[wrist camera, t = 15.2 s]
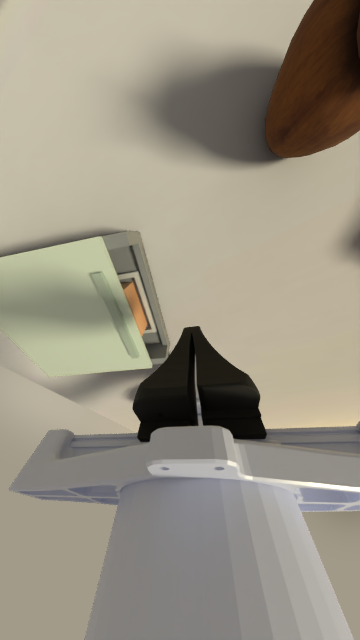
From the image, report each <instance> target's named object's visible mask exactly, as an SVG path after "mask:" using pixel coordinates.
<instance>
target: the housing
mask: <svg viewBox="0 0 360 640" xmlns="http://www.w3.org/2000/svg"><path fill="white" fill-rule="evenodd" d="M102 238H103V241H104V243H105V246H106V248H107V251H108V253H109V256H110V258H111V261H112V263H113V266H114V268H115V271H116V273H117V276H118V279H119V281H120V284H121V286H122V289H123V291H124V294H125V296H126V299H127V301H128V304H129V306H130V309H131V311H132V314H133V316H134V319H135V322H136V324H137V327H138V329H139V332H140V334H141V337H142V339H143V342H144V344H145V347H146V349H147V352H148V354H149V357H150V359H151V362H152V364H163V363H164V362H165V360H166V359H167V358H168V354H169V347H170V342H169V338H168V335H167V331H166V327H165V324H164V320H163V316H162V313H161V309H160V305H159V302H158V298H157V294H156V291H155V287H154V283H153V280H152V276H151V272H150V269H149V265H148V261H147V258H146V254H145V250H144V247H143V243H142V239H141V236H140V232H133V231H125V232H120V233H115V234H111V235H106V236H102Z"/></svg>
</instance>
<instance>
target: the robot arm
mask: <svg viewBox="0 0 360 640" xmlns="http://www.w3.org/2000/svg"><path fill="white" fill-rule="evenodd" d="M259 402H260V394H259V391H258V389H257V387H256V386H255V384H254V382H253V381H252V379H251V378H250V377H249V375H247V374H246V373H244V372H242V371H241V370H239V369H238V368H236V367H235V366H233V365H232V364H231V363H229V362H228V361H227V360H226V359H224V358H223V357H222V356H221V355H220V354H219V353H218V352H217V351H216V350H215V349H214V348H213V347H212V346H211V344H210V343H209V342H208V341H207V339H206V338H205V336H204V335H203V333H202V331H201V329H200V327H199V326H195V327H187V328H184V330H183V333H182V335H181V337H180V339H179V341H178V343H177V345H176V346H175V348H174V350H173V351H172V353H171V354H170V355H169V357H168V358H167V359H166V360H165V362H164V363H163V364H162V365H161V366H160V367H159V368H158V369H157V370H156V371H155V372H154V373H153V374H152V375H150V376H149V377H148V378H147V379H145V380H144V381H143V382H142V383H141V384H140V386H139V388H138V391H137V393H136V396H135V400H134V403H133V411H134V412H135V414H136V415H137V417H138V419H139V420H140V422H141V423H140V427H139V431H138V433H130V434H98V435H74V433H72V432H71V431H69V430H64V429H60V430H49V431H48V432H47V434H46V435H45V437H44V438H43V440H42V441H41V443H40V444H39V446H38V447H37V448H36V450H35V451H34V453H33V454H32V456H31V457H30V458H29V460H28V461H27V463H26V464H25V466H24V467H23V469H22V470H21V472H20V473H19V474H18V476H17V477H16V479H15V480H14V482H13V483H12V484H11V486H10V487H9V490H10V491H13V492H17V493H20V494H23V495H27V496H30V497H34V498H38V499H41V500H58V501H74V502H87V503H98V504H99V503H100V504H110V505H118V507H117V511H116V515H115V519H114V523H113V527H112V531H111V535H110V539H109V543H108V547H107V551H106V555H105V559H104V563H103V567H102V571H101V575H100V579H99V583H98V587H97V591H96V595H95V599H94V603H93V607H92V611H91V615H90V619H89V623H88V627H87V631H86V635H85V639H84V640H354V639H353V636H352V634H351V632H350V629H349V627H348V624H347V622H346V619H345V617H344V615H343V612H342V610H341V607H340V605H339V602H338V600H337V598H336V595H335V593H334V590H333V588H332V586H331V583H330V581H329V578H328V576H327V573H326V571H325V569H324V566H323V564H322V561H321V559H320V557H319V554H318V552H317V549H316V547H315V544H314V542H313V539H312V537H311V535H310V532H309V530H308V528H307V525H306V523H305V520H304V518H303V515H302V513H301V512H313V511H314V512H318V511H360V421H359V422H358V424H357V426H348V427H316V428H285V429H265V428H264V425H263V423H262V420H261V418H260V417H261V414H260V411H259V409H258V406H259Z"/></svg>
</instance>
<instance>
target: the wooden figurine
mask: <svg viewBox="0 0 360 640" xmlns="http://www.w3.org/2000/svg"><path fill="white" fill-rule="evenodd" d="M265 127H266V140H267V143H268V146H269V148H270V150H271V151H272V152H274V153H275V154H276V155H277V156H281V157H284V158H291V157H302V156H307V155H310V154H313V153H316V152H319V151H322V150H325V149H327V148H330V147H333V146H336V145H337V144H339V143H341V142H343V141H345V140H346V139H348V138H350V137H351V136H352V135H354V134H355V133H357V132H358V131H359V130H360V0H314V1H313V2H312V4H311V6H310V7H309V9H308V10H307V12H306V14H305V15H304V17H303V19H302V21H301V23H300V25H299V26H298V28H297V30H296V32H295V34H294V36H293V38H292V40H291V43H290V45H289V48H288V50H287V53H286V56H285V58H284V61H283V63H282V66H281V69H280V72H279V74H278V77H277V80H276V83H275V85H274V88H273V92H272V95H271V98H270V102H269V106H268V110H267V115H266V120H265Z"/></svg>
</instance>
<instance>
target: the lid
mask: <svg viewBox="0 0 360 640" xmlns="http://www.w3.org/2000/svg"><path fill="white" fill-rule="evenodd" d="M0 330H1V331H2V332H3V333H4V334H5V335H6V336H7V337H8V338H9V339H10V340H11V341H12V342H13V343H14V344H15V345H16V346H18V347H19V348H20V349H21V350H22V351H23V352H24V353H25V354H26V355H27V356H28V357H29V358H30V359H31V360H32V361H33V362H34V363H35V364H36V365H37V366H38V367H39V368H40V369H41V370H42V371H43V372H44V373H45V374H46V375H47V376H48V377H56V376H67V375H78V374H90V373H101V372H112V371H124V370H135V369H146V368H152V366H153V365H152V362H151V359H150V357H149V354H148V352H147V349H146V347H145V344H144V342H143V339H142V337H141V334H140V332H139V329H138V327H137V324H136V322H135V319H134V316H133V314H132V311H131V309H130V306H129V304H128V301H127V299H126V296H125V294H124V291H123V289H122V286H121V284H120V281H119V279H118V276H117V273H116V271H115V268H114V266H113V263H112V261H111V258H110V256H109V253H108V251H107V248H106V246H105V243H104V241H103V238H102V236H98V237H94V238H89V239H84V240H80V241H75V242H70V243H66V244H61V245H56V246H52V247H47V248H42V249H37V250H33V251H28V252H23V253H19V254H14V255H9V256H5V257H0Z"/></svg>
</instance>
